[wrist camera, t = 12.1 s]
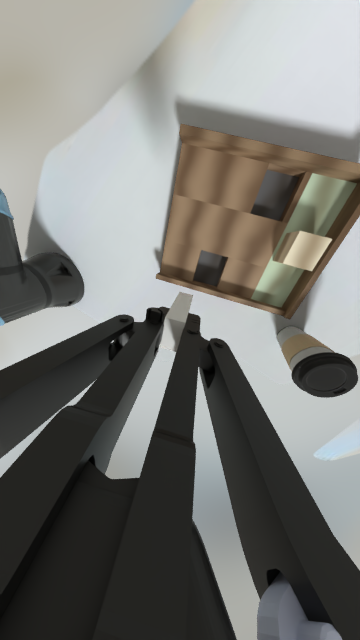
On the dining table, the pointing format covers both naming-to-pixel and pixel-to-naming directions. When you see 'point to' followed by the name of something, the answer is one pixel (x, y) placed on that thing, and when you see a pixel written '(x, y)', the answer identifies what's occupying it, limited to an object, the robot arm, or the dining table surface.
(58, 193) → the dining table surface
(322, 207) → the box
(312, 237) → the birch block
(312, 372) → the coffee cup
